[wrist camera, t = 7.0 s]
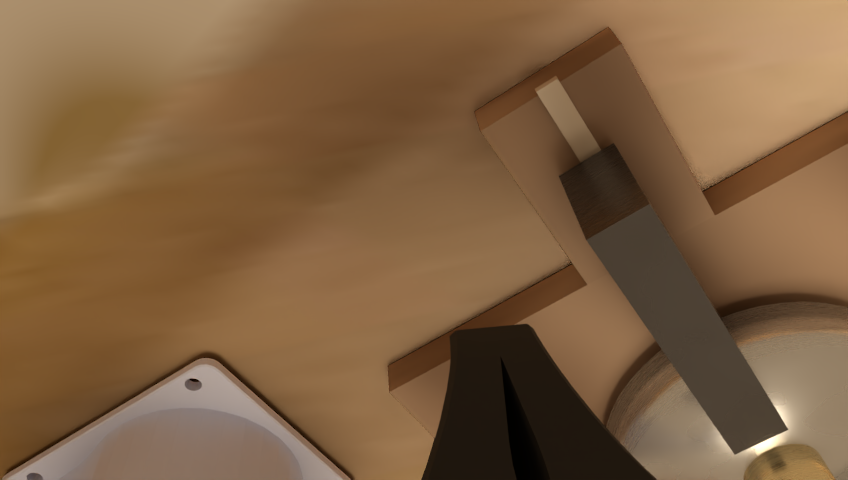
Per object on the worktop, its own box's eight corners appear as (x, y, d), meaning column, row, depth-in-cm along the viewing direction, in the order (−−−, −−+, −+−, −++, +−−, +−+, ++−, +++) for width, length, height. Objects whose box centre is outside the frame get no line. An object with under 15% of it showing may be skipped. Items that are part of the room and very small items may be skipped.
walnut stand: (605, 592, 34) (614, 624, 33) (263, 236, 23) (259, 264, 22) (1044, 404, 29) (1073, 433, 28) (876, -152, 19) (911, -142, 17)
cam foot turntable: (945, 440, 28) (1026, 541, 24) (679, 556, 30) (719, 662, 27) (770, 48, 19) (856, 120, 16) (423, 256, 22) (435, 355, 18)
